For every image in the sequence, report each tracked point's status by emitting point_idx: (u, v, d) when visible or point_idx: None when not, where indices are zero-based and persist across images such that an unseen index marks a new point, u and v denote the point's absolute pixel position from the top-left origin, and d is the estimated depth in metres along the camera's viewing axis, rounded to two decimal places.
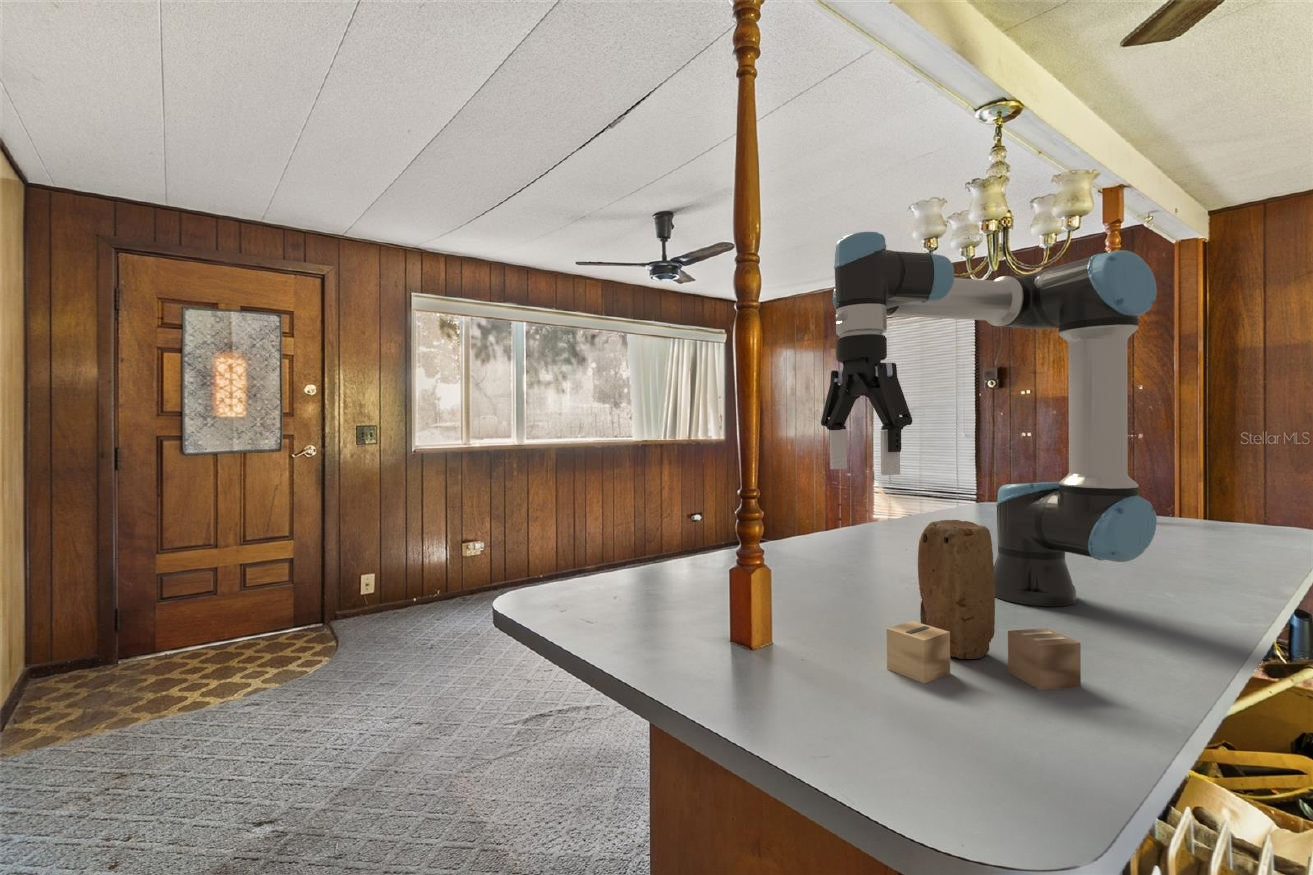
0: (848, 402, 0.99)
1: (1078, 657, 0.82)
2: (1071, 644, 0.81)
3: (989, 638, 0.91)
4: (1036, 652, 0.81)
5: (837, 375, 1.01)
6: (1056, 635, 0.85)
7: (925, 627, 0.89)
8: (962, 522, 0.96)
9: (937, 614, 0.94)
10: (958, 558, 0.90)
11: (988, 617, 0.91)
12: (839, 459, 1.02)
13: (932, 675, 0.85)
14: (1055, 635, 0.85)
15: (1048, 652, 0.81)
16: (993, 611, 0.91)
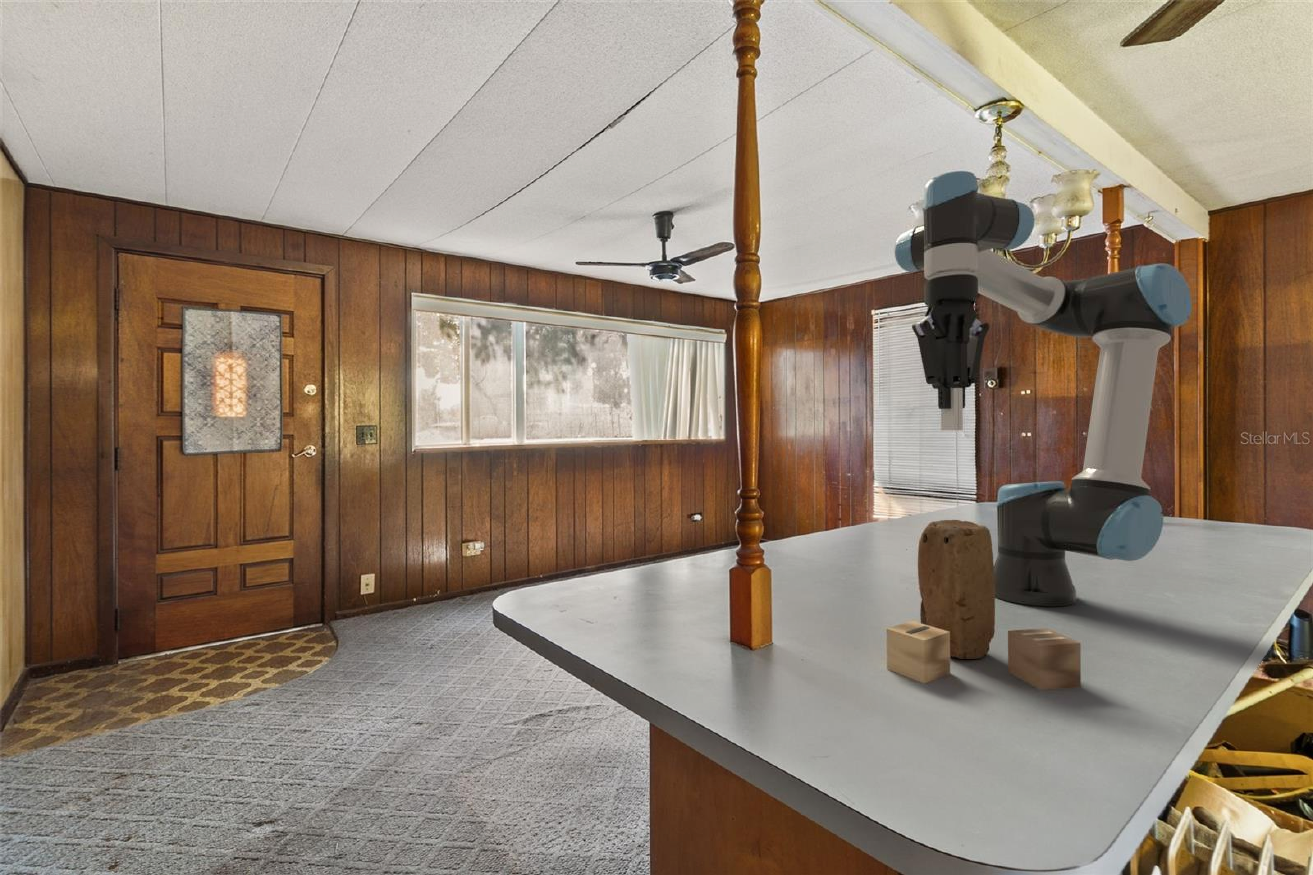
0: (955, 348, 0.95)
1: (1078, 657, 0.82)
2: (1071, 644, 0.81)
3: (989, 638, 0.91)
4: (1036, 652, 0.81)
5: None
6: (1056, 635, 0.85)
7: (925, 627, 0.89)
8: (962, 522, 0.96)
9: (937, 614, 0.94)
10: (958, 558, 0.90)
11: (988, 617, 0.91)
12: None
13: (932, 675, 0.85)
14: (1055, 635, 0.85)
15: (1048, 652, 0.81)
16: (993, 611, 0.91)
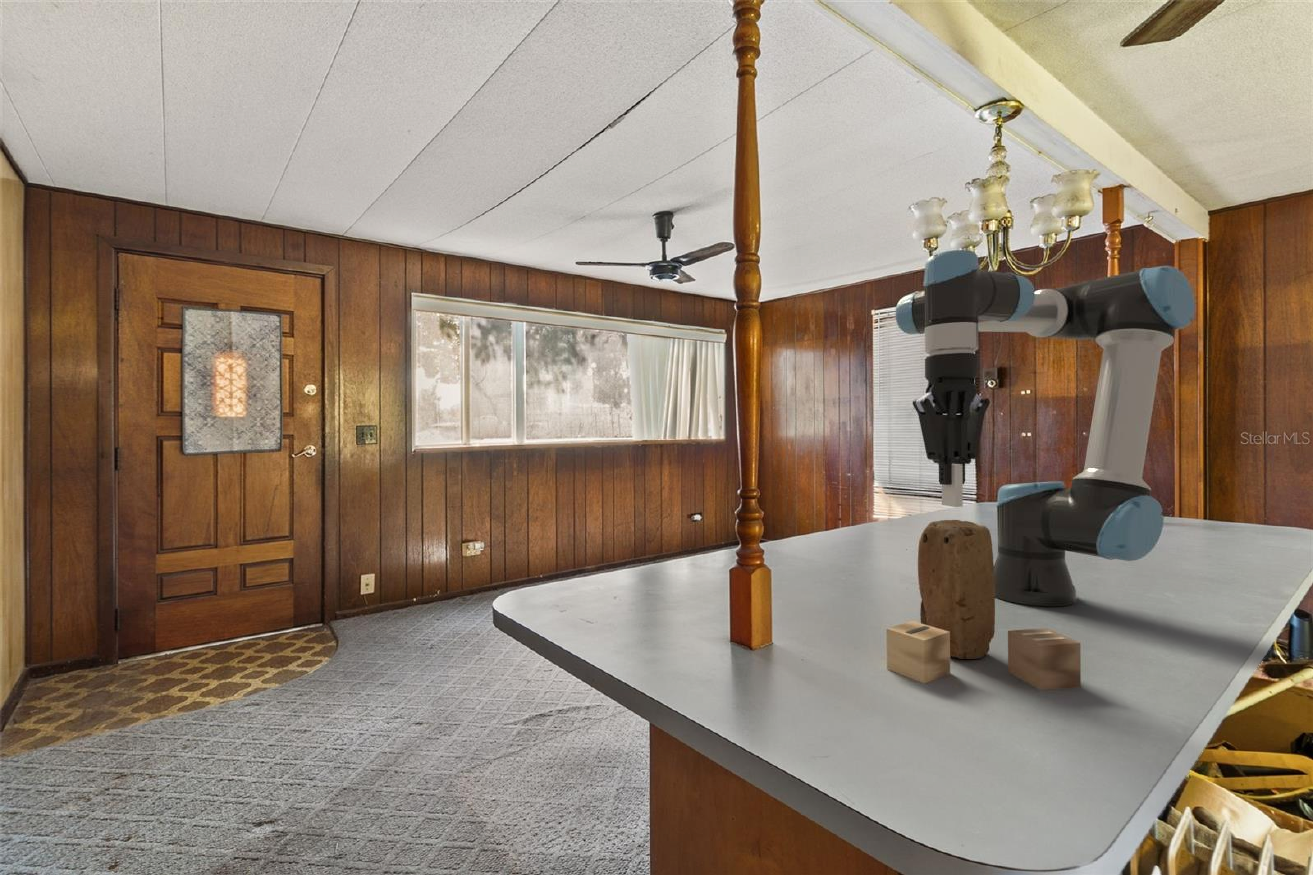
0: (955, 424, 0.95)
1: (1078, 657, 0.82)
2: (1071, 644, 0.81)
3: (989, 638, 0.91)
4: (1036, 652, 0.81)
5: None
6: (1056, 635, 0.85)
7: (925, 627, 0.89)
8: (962, 522, 0.96)
9: (937, 614, 0.94)
10: (958, 558, 0.90)
11: (988, 617, 0.91)
12: None
13: (932, 675, 0.85)
14: (1055, 635, 0.85)
15: (1048, 652, 0.81)
16: (993, 611, 0.91)
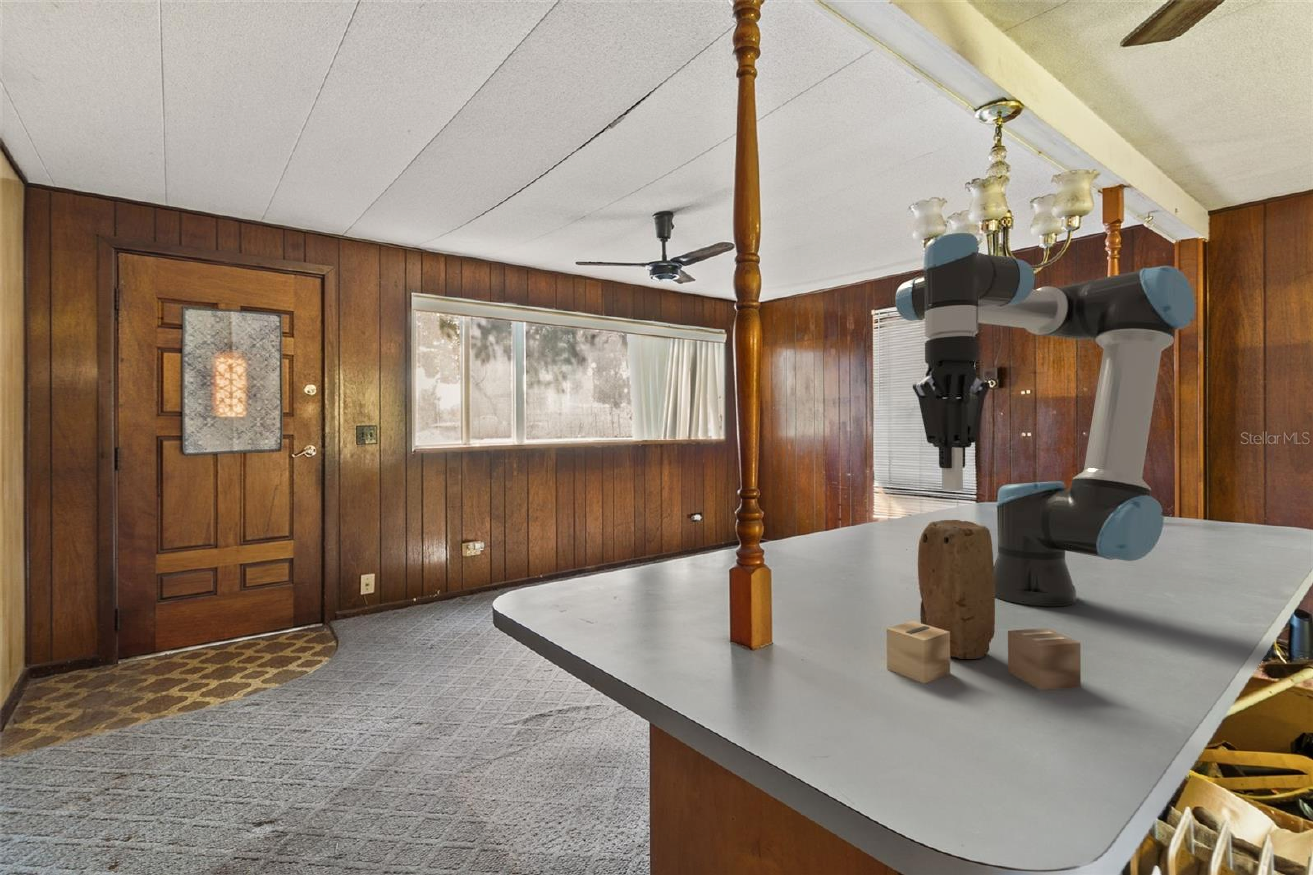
0: (955, 408, 0.95)
1: (1078, 657, 0.82)
2: (1071, 644, 0.81)
3: (989, 638, 0.91)
4: (1036, 652, 0.81)
5: None
6: (1056, 635, 0.85)
7: (925, 627, 0.89)
8: (962, 522, 0.96)
9: (937, 614, 0.94)
10: (958, 558, 0.90)
11: (988, 617, 0.91)
12: None
13: (932, 675, 0.85)
14: (1055, 635, 0.85)
15: (1048, 652, 0.81)
16: (993, 611, 0.91)
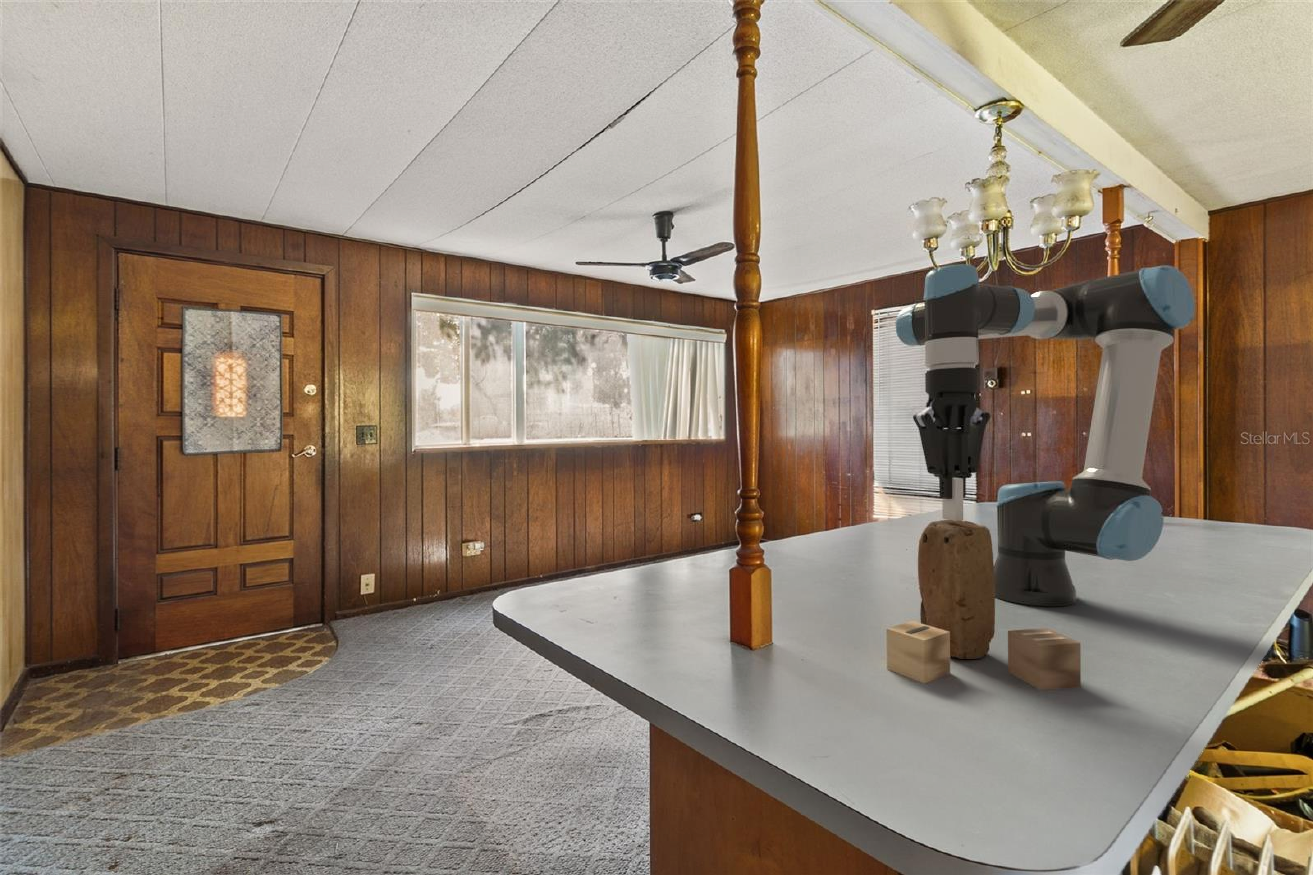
0: (955, 438, 0.95)
1: (1078, 657, 0.82)
2: (1071, 644, 0.81)
3: (989, 638, 0.91)
4: (1036, 652, 0.81)
5: None
6: (1056, 635, 0.85)
7: (925, 627, 0.89)
8: (962, 522, 0.96)
9: (937, 614, 0.94)
10: (958, 558, 0.90)
11: (988, 617, 0.91)
12: None
13: (932, 675, 0.85)
14: (1055, 635, 0.85)
15: (1048, 652, 0.81)
16: (993, 611, 0.91)
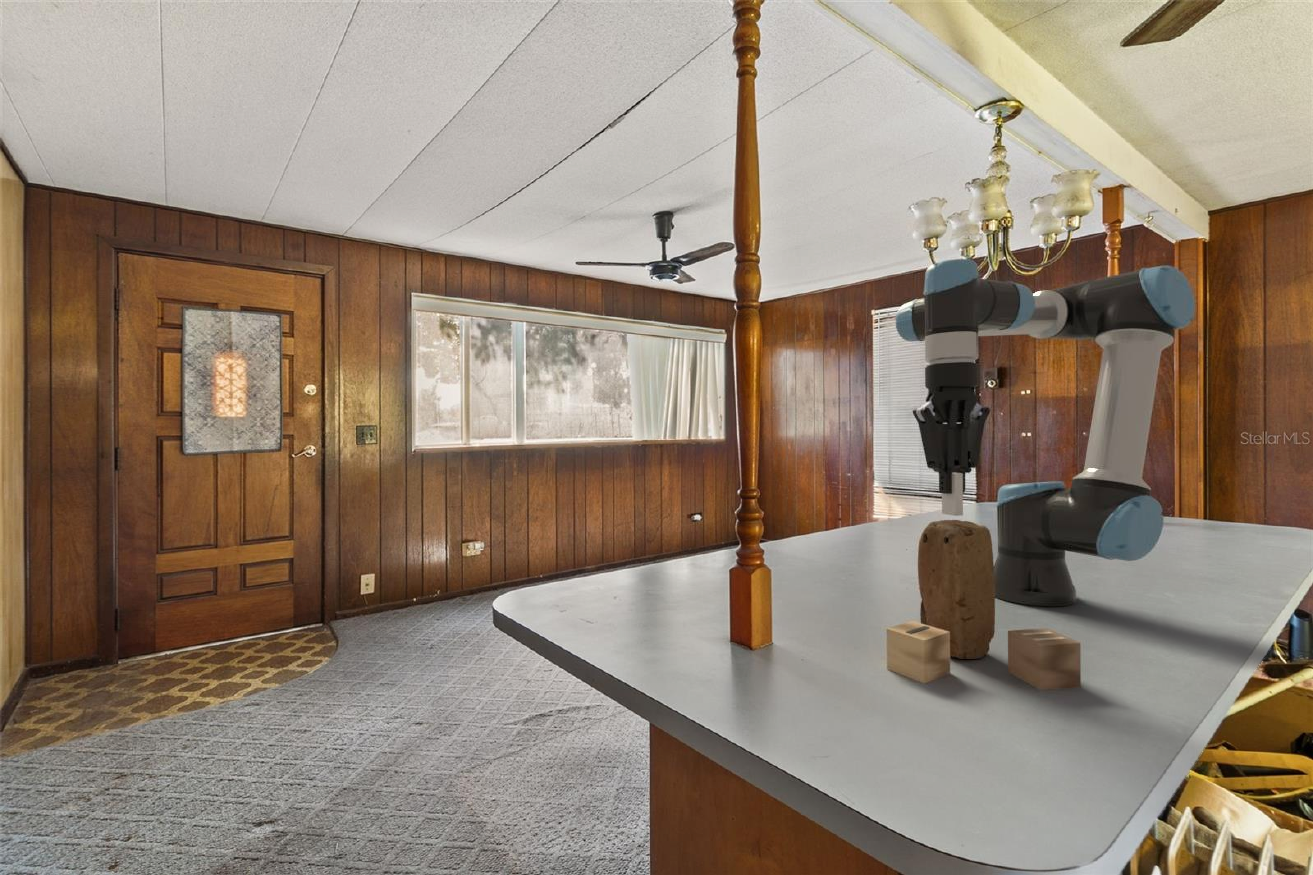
0: (955, 433, 0.95)
1: (1078, 657, 0.82)
2: (1071, 644, 0.81)
3: (989, 638, 0.91)
4: (1036, 652, 0.81)
5: None
6: (1056, 635, 0.85)
7: (925, 627, 0.89)
8: (962, 522, 0.96)
9: (937, 614, 0.94)
10: (958, 558, 0.90)
11: (988, 617, 0.91)
12: None
13: (932, 675, 0.85)
14: (1055, 635, 0.85)
15: (1048, 652, 0.81)
16: (993, 611, 0.91)
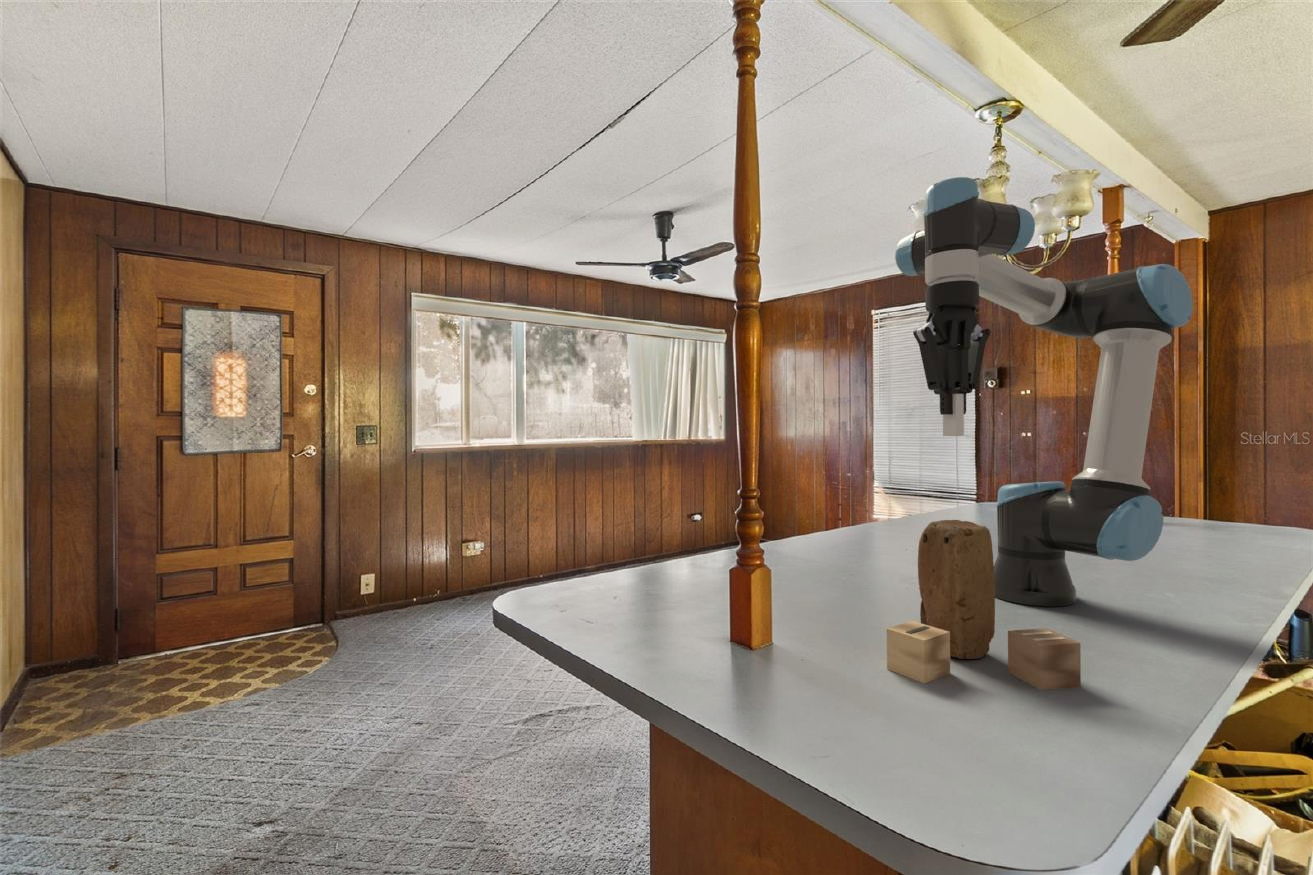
0: (956, 354, 0.95)
1: (1078, 657, 0.82)
2: (1071, 644, 0.81)
3: (989, 638, 0.91)
4: (1036, 652, 0.81)
5: None
6: (1056, 635, 0.85)
7: (925, 627, 0.89)
8: (962, 522, 0.96)
9: (937, 614, 0.94)
10: (958, 558, 0.90)
11: (988, 617, 0.91)
12: None
13: (932, 675, 0.85)
14: (1055, 635, 0.85)
15: (1048, 652, 0.81)
16: (993, 611, 0.91)
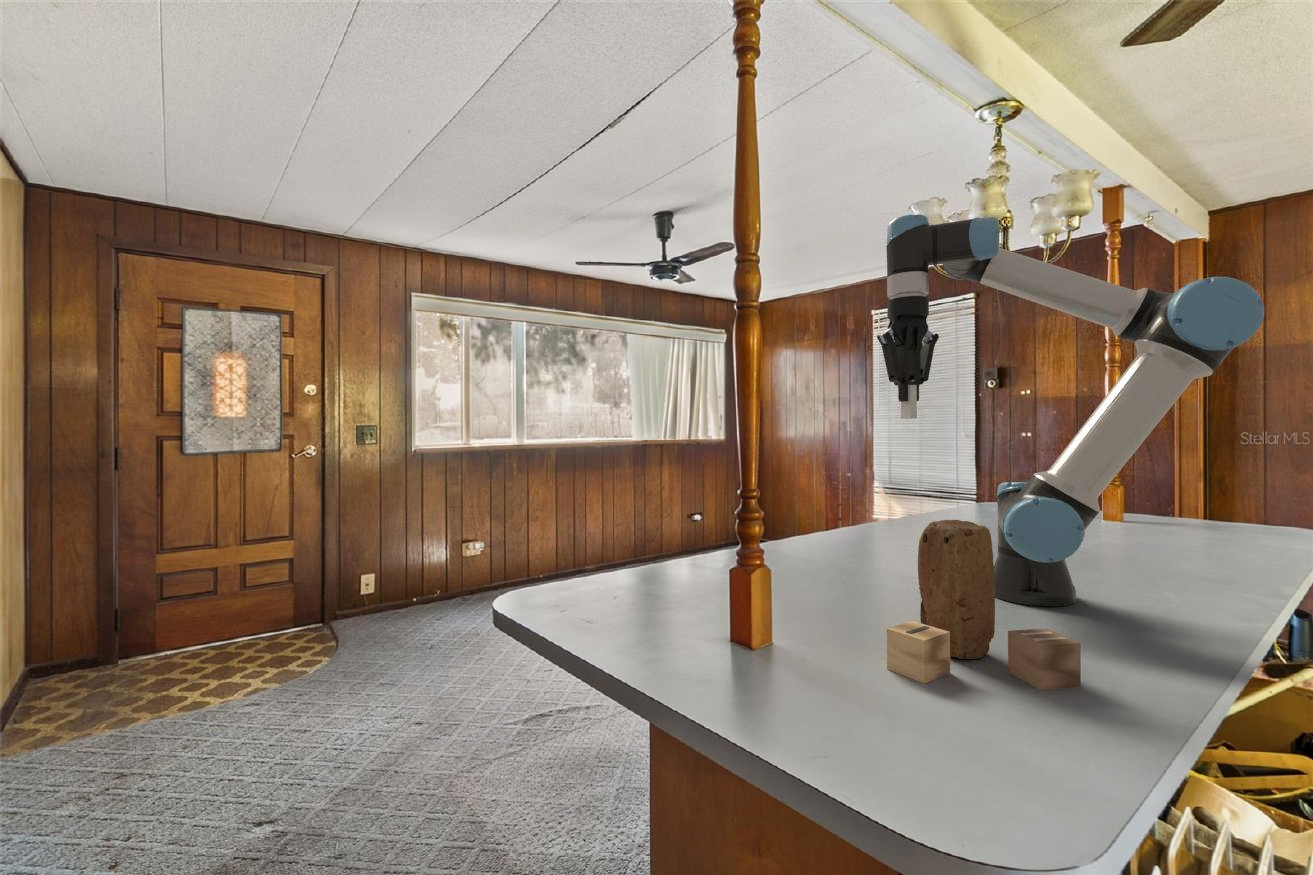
0: (911, 354, 1.20)
1: (1078, 657, 0.82)
2: (1071, 644, 0.81)
3: (989, 638, 0.91)
4: (1036, 652, 0.81)
5: None
6: (1056, 635, 0.85)
7: (925, 627, 0.89)
8: (962, 522, 0.96)
9: (937, 614, 0.94)
10: (958, 558, 0.90)
11: (988, 617, 0.91)
12: None
13: (932, 675, 0.85)
14: (1055, 635, 0.85)
15: (1048, 652, 0.81)
16: (993, 611, 0.91)
